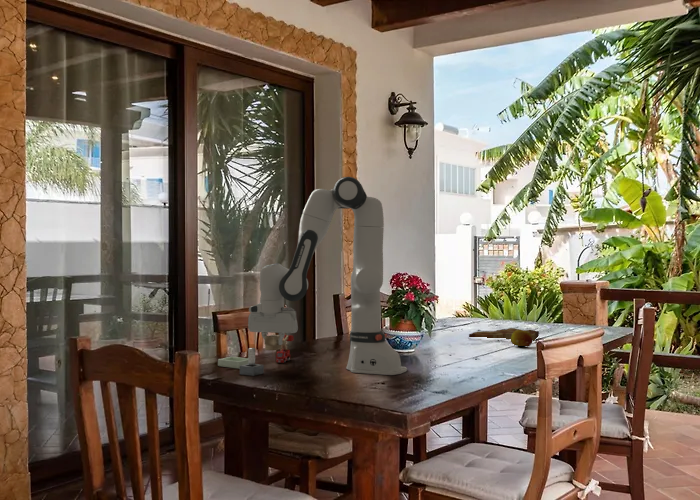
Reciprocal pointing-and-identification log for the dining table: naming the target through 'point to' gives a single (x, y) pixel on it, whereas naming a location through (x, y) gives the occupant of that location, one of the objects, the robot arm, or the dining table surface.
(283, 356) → the toy fire truck
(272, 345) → the block
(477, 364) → the dining table surface
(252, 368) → the socket block
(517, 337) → the fruit
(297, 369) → the dining table surface
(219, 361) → the tray
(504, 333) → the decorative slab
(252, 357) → the pin
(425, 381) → the dining table surface
